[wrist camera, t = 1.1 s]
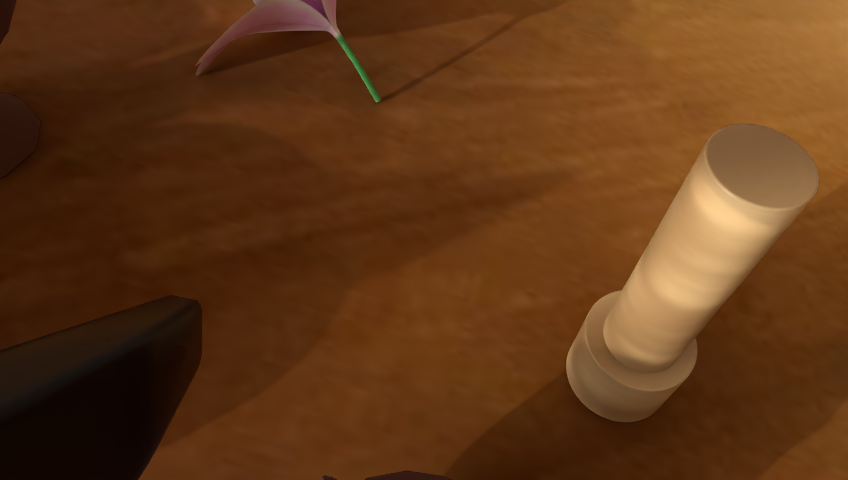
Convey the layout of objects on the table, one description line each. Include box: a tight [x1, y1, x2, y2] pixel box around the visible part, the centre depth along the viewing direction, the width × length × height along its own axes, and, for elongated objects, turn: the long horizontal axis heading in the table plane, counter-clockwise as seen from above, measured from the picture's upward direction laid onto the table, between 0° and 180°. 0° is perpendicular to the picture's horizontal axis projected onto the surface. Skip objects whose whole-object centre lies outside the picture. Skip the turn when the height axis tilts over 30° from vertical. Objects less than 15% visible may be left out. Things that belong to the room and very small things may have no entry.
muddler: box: [566, 124, 819, 422], centre depth 21 cm, size 4×4×12 cm
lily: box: [195, 0, 381, 102], centre depth 31 cm, size 12×12×10 cm
